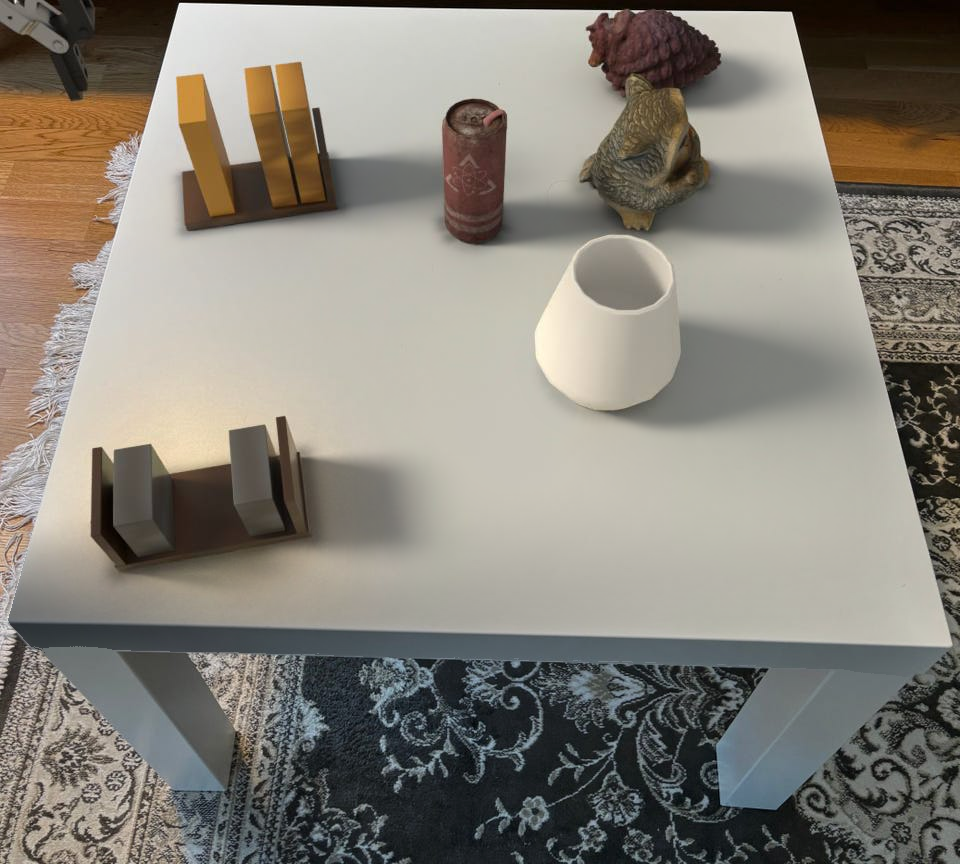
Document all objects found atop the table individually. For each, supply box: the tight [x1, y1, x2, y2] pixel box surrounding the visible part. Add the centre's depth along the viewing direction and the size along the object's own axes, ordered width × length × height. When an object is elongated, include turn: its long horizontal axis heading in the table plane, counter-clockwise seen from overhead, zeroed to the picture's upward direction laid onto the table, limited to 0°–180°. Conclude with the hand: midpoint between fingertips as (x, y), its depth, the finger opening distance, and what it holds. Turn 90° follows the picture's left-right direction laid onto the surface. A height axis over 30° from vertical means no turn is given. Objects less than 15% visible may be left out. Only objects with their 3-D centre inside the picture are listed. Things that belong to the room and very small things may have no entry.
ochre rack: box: [181, 61, 339, 231], centre depth 91 cm, size 16×8×13 cm, turn 102°
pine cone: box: [585, 8, 722, 99], centre depth 103 cm, size 18×10×10 cm
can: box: [441, 98, 508, 245], centre depth 88 cm, size 6×6×14 cm
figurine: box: [578, 74, 711, 232], centre depth 90 cm, size 14×15×15 cm
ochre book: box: [175, 73, 235, 217], centre depth 90 cm, size 3×7×12 cm, turn 12°
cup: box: [534, 234, 682, 411], centre depth 79 cm, size 13×13×14 cm
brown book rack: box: [89, 415, 312, 573], centre depth 74 cm, size 16×8×7 cm, turn 102°
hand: (11, 101), depth 59 cm, fingers open, 8 cm apart
